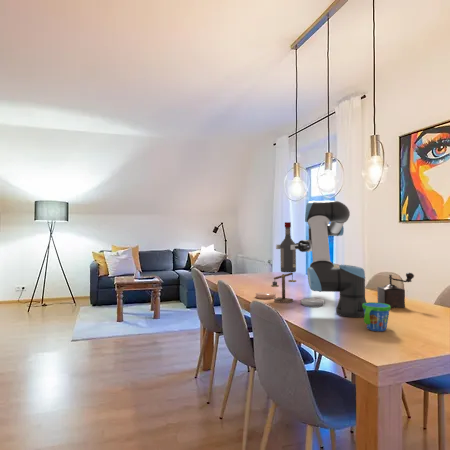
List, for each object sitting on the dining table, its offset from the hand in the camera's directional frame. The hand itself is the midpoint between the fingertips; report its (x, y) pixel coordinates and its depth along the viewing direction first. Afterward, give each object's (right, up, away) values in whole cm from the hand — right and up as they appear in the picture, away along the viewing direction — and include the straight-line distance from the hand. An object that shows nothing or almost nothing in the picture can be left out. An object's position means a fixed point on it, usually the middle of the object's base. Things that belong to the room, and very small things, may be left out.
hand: (283, 247), depth 216 cm
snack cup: (+27, -30, -70) cm, 80 cm away
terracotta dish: (-11, -30, +1) cm, 32 cm away
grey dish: (+12, -30, -21) cm, 38 cm away
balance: (-2, -30, -12) cm, 33 cm away
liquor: (+3, -15, +3) cm, 16 cm away
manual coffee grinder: (+55, -30, -26) cm, 68 cm away
